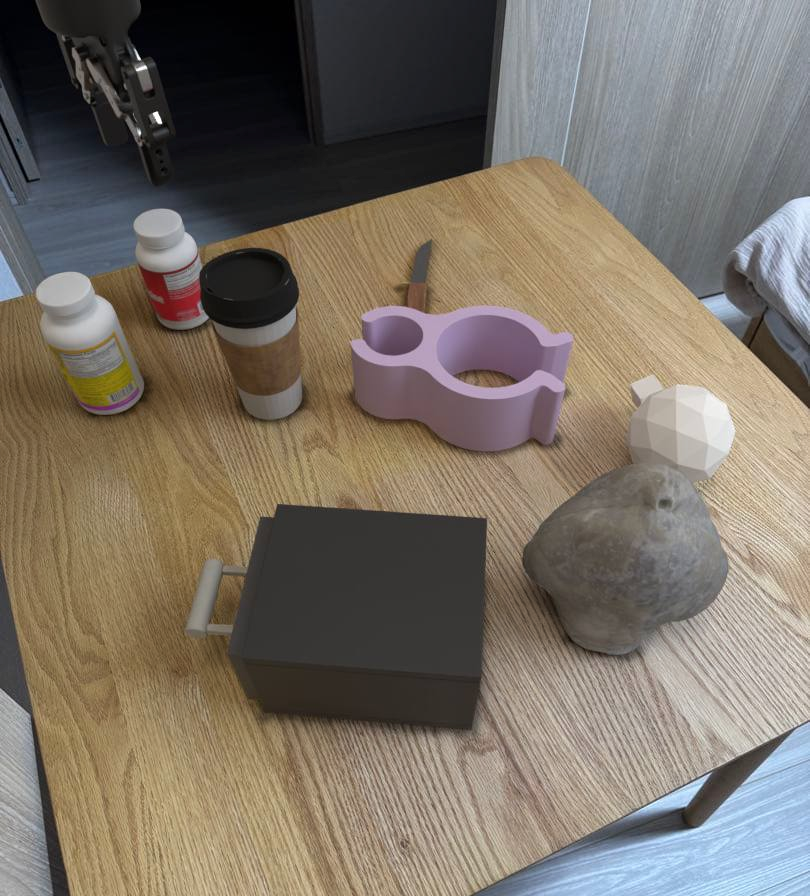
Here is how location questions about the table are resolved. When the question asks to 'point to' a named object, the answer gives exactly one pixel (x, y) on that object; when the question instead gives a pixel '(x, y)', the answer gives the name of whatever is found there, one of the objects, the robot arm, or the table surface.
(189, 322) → the pill bottle
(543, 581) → the decorative stone
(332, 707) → the dark grey drawer box
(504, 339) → the clip
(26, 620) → the table surface
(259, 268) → the coffee cup
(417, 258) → the knife
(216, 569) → the dark brown drawer
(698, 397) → the perfume bottle
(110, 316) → the supplement bottle
